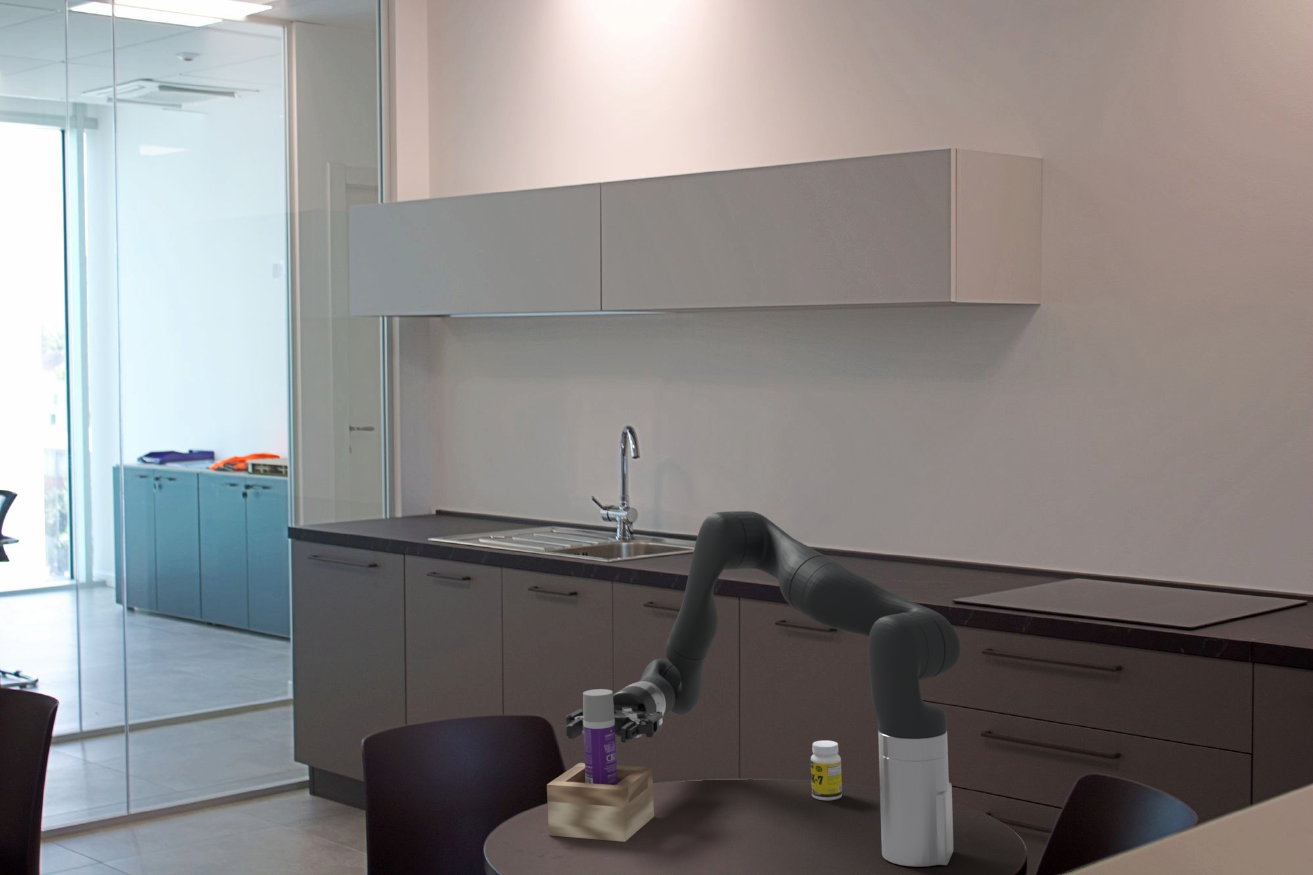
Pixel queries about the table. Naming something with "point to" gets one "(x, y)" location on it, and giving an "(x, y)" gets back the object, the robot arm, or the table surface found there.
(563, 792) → the wooden open tray
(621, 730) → the robot arm
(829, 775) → the supplement bottle
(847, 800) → the table surface
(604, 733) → the container
